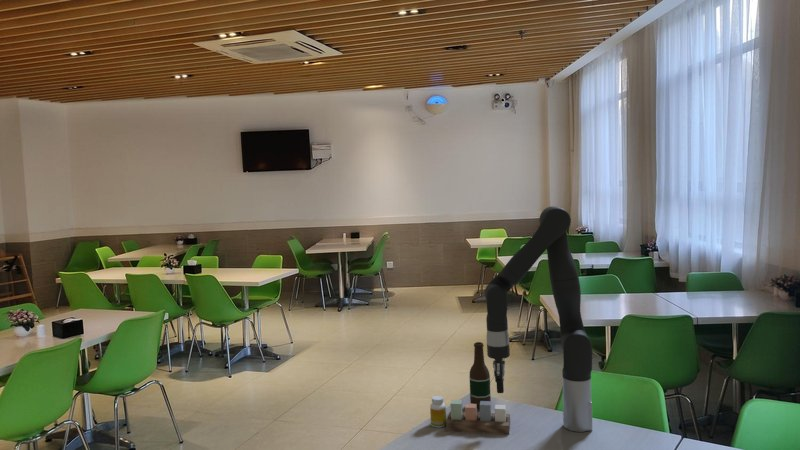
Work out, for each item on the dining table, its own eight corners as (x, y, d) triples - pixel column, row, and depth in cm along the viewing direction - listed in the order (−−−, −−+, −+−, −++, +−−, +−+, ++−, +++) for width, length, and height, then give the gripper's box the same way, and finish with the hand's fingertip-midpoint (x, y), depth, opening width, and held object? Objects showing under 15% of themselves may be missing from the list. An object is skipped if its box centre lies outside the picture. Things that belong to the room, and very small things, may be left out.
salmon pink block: (477, 420, 212) (476, 403, 212) (476, 424, 209) (475, 407, 208) (466, 420, 213) (466, 403, 213) (465, 424, 210) (465, 407, 209)
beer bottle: (467, 408, 227) (465, 345, 225) (472, 400, 234) (470, 339, 232) (488, 410, 224) (486, 346, 222) (492, 402, 231) (491, 340, 229)
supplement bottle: (446, 427, 211) (445, 400, 210) (431, 428, 211) (430, 401, 210) (445, 421, 216) (444, 394, 215) (430, 421, 216) (429, 395, 215)
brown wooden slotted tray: (510, 422, 213) (510, 413, 213) (509, 434, 203) (508, 425, 203) (450, 419, 218) (450, 411, 217) (446, 431, 208) (446, 422, 208)
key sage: (462, 416, 213) (462, 400, 213) (461, 421, 210) (460, 404, 209) (452, 416, 214) (451, 399, 214) (451, 420, 211) (450, 403, 210)
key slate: (491, 418, 211) (491, 401, 211) (490, 422, 208) (490, 405, 207) (481, 417, 212) (480, 400, 211) (480, 421, 208) (479, 404, 208)
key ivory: (506, 422, 210) (505, 405, 210) (505, 426, 207) (505, 409, 206) (495, 421, 211) (495, 404, 210) (495, 425, 207) (494, 408, 207)
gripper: (508, 348, 199) (510, 399, 200) (509, 337, 212) (512, 385, 213) (485, 348, 201) (487, 399, 202) (488, 337, 214) (490, 385, 215)
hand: (500, 392), depth 208 cm, fingers closed
